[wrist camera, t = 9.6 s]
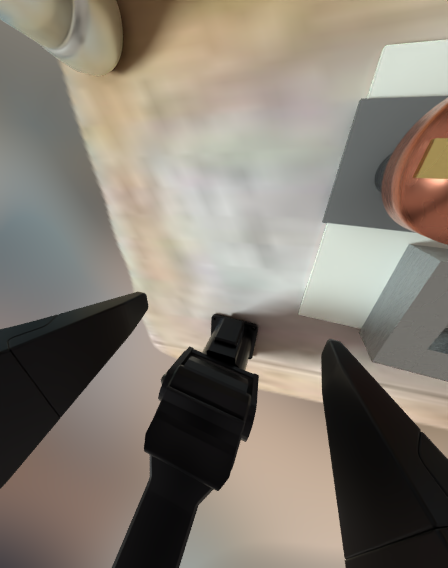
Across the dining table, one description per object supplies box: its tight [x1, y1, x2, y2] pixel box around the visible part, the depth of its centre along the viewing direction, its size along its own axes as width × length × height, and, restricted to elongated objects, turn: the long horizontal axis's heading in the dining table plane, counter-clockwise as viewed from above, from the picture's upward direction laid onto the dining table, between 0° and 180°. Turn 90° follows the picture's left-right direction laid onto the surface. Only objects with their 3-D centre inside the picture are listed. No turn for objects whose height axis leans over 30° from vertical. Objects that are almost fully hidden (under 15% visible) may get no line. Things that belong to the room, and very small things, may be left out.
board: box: [298, 39, 448, 329], centre depth 15 cm, size 21×17×1 cm
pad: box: [322, 96, 448, 233], centre depth 14 cm, size 8×8×1 cm
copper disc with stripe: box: [375, 98, 448, 245], centre depth 10 cm, size 6×6×9 cm
